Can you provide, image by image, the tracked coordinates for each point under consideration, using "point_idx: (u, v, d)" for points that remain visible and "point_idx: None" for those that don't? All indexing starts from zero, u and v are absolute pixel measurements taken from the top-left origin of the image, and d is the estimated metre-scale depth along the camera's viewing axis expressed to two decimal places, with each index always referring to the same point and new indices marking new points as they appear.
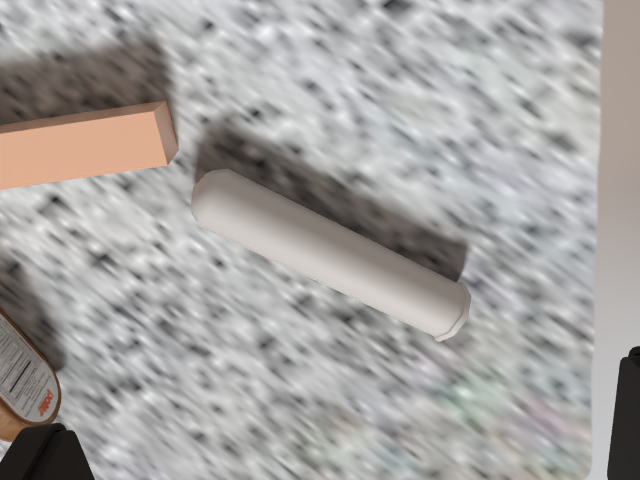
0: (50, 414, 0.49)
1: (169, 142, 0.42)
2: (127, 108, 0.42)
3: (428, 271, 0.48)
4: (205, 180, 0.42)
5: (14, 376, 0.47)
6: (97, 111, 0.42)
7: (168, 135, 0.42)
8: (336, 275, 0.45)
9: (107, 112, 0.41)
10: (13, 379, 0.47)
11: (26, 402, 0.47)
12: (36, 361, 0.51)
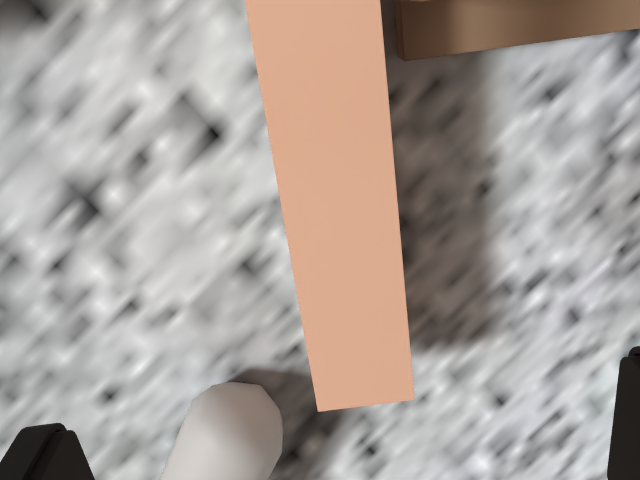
0: None
1: None
2: None
3: None
4: (271, 433, 0.25)
5: None
6: None
7: None
8: None
9: None
10: None
11: None
12: None
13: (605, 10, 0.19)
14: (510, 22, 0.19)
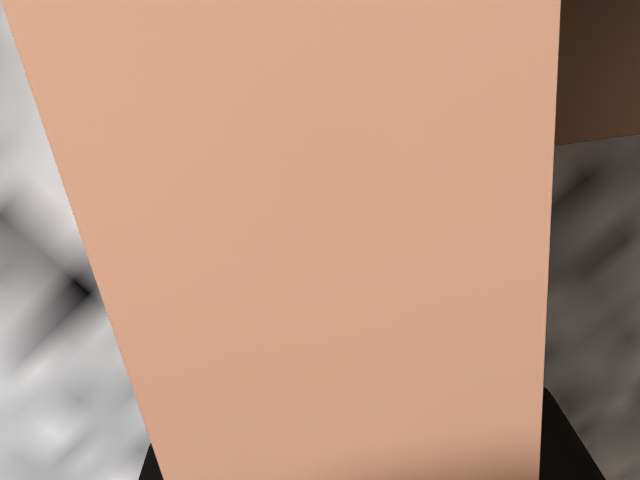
0: None
1: None
2: None
3: None
4: None
5: None
6: None
7: None
8: None
9: None
10: None
11: None
12: None
13: None
14: None
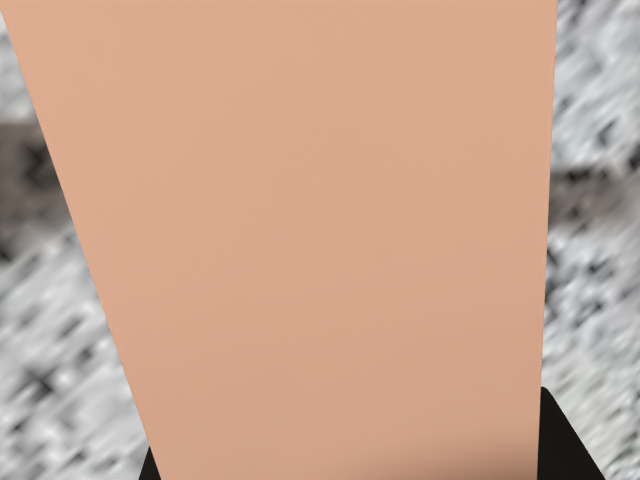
0: None
1: None
2: None
3: None
4: None
5: None
6: None
7: None
8: None
9: None
10: None
11: None
12: None
13: None
14: None
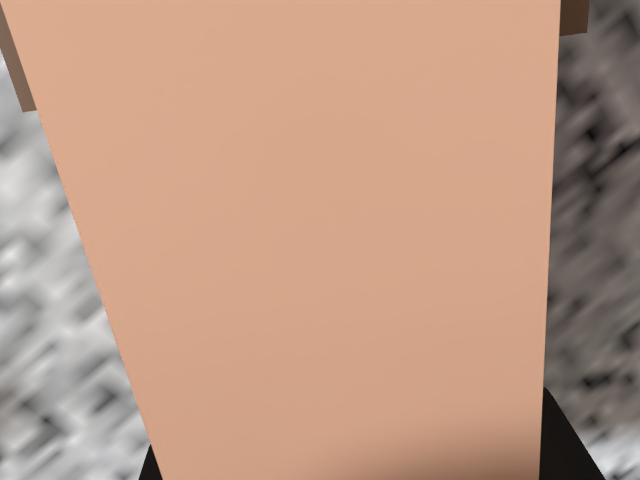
0: None
1: None
2: None
3: None
4: None
5: None
6: None
7: None
8: None
9: None
10: None
11: None
12: None
13: None
14: None
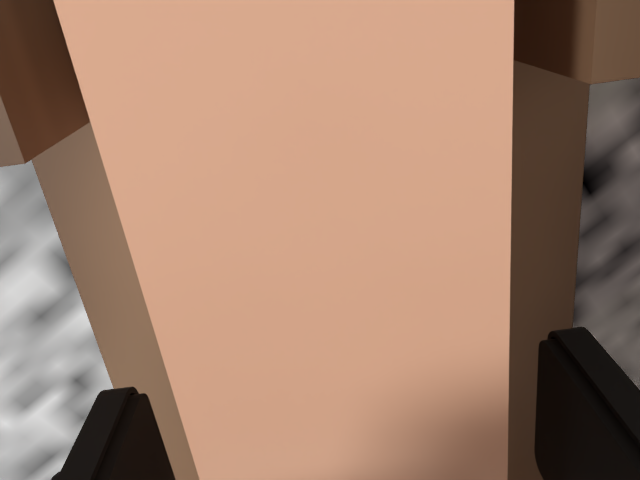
0: None
1: None
2: None
3: None
4: None
5: None
6: None
7: None
8: None
9: None
10: None
11: None
12: None
13: None
14: None
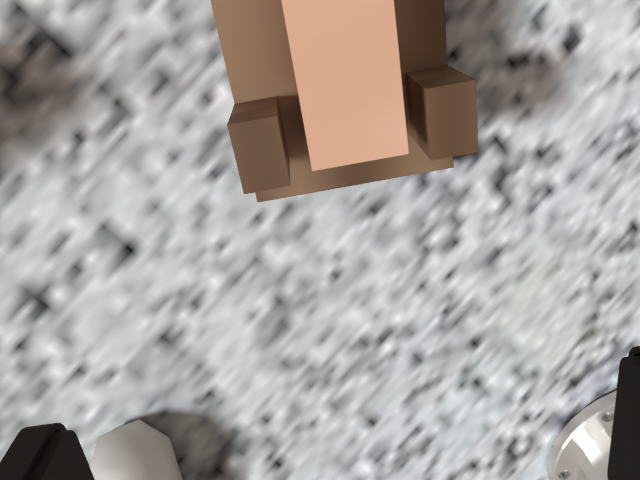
0: None
1: None
2: None
3: None
4: (142, 454, 0.32)
5: None
6: None
7: None
8: None
9: None
10: None
11: None
12: None
13: (395, 163, 0.27)
14: (329, 174, 0.27)
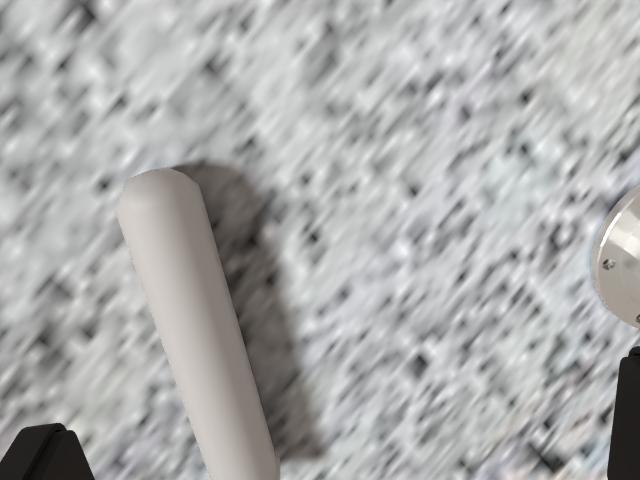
0: None
1: None
2: None
3: (266, 430, 0.41)
4: (171, 181, 0.32)
5: None
6: None
7: None
8: (194, 377, 0.35)
9: None
10: None
11: None
12: None
13: None
14: None
